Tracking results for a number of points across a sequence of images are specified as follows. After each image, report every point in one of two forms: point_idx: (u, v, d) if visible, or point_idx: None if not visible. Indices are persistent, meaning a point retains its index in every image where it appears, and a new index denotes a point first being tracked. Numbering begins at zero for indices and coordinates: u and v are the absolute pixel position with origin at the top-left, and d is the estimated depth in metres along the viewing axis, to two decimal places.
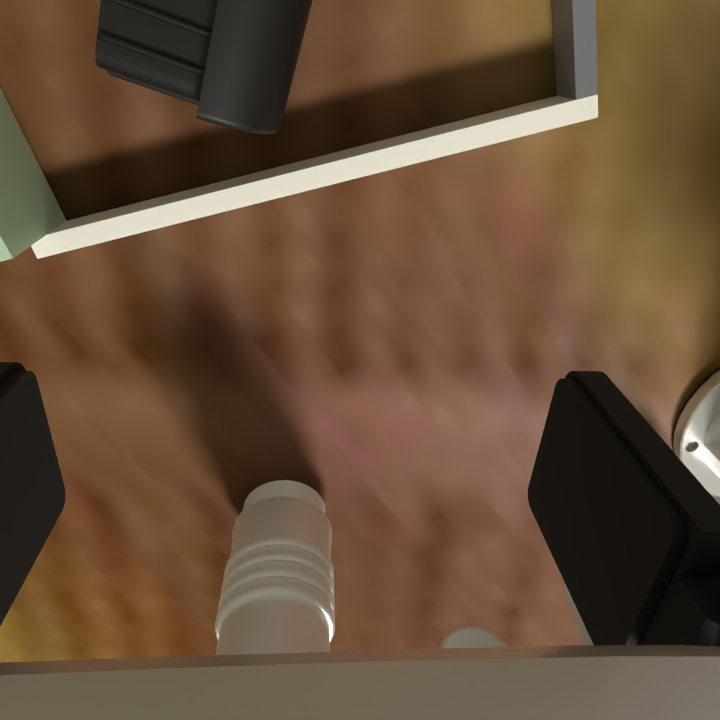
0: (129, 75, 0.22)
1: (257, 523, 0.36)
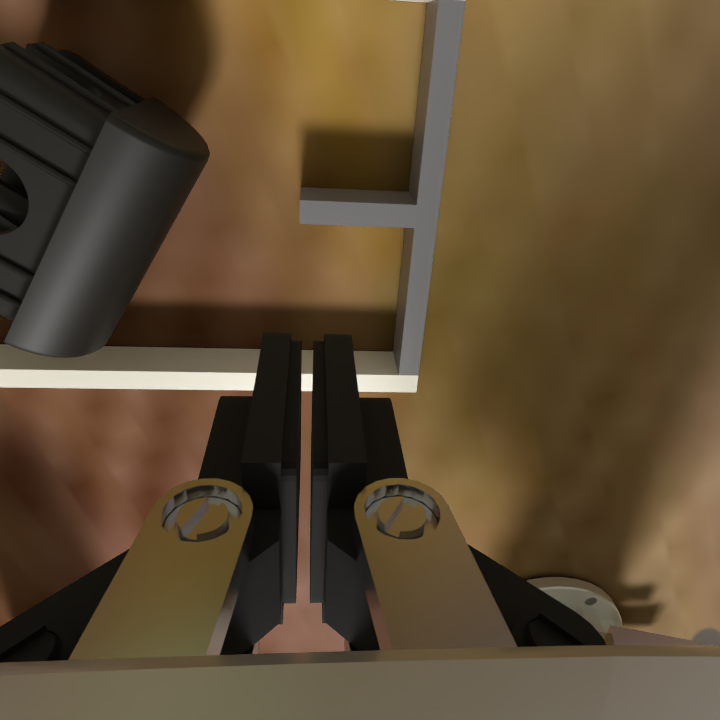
0: None
1: None
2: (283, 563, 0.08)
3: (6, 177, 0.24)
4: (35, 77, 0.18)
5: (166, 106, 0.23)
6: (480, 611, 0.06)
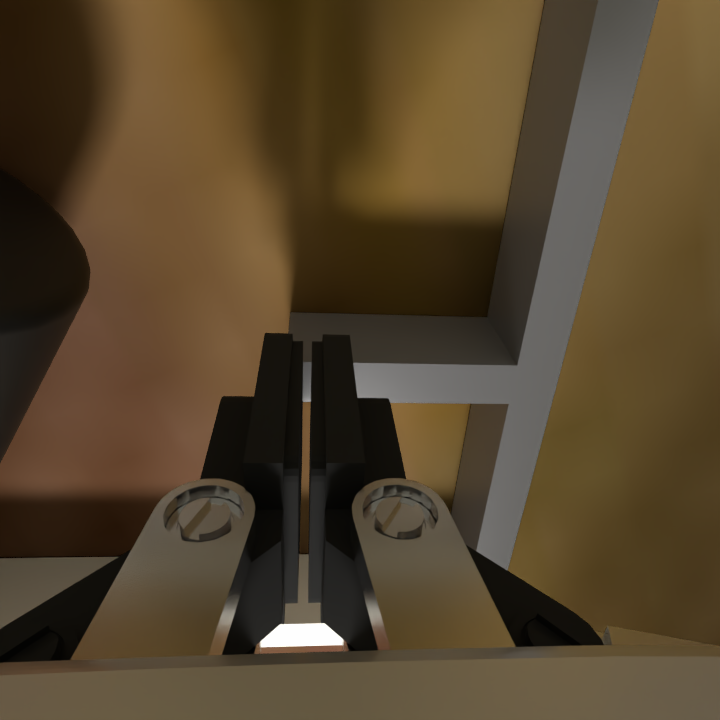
0: None
1: None
2: (285, 563, 0.08)
3: None
4: None
5: (9, 177, 0.11)
6: (478, 611, 0.06)
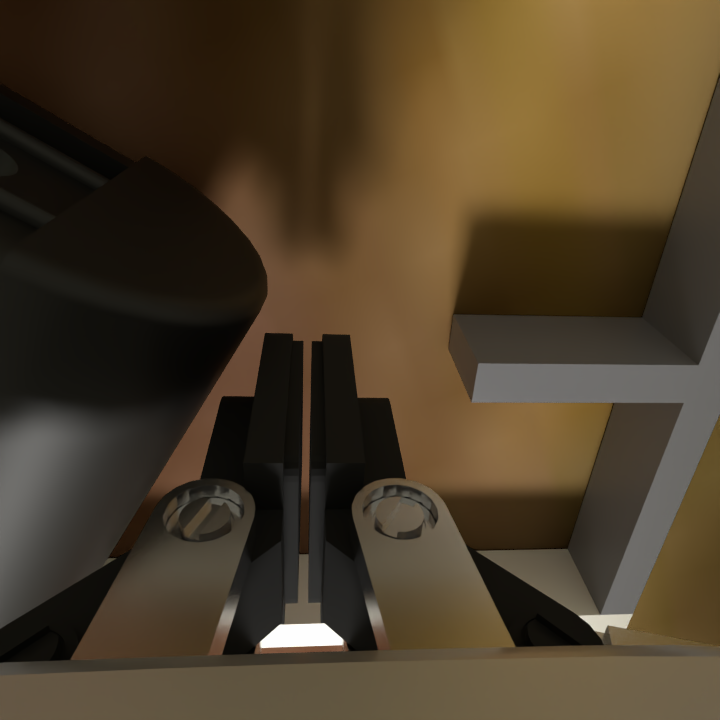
0: None
1: None
2: (285, 563, 0.08)
3: None
4: None
5: (171, 173, 0.11)
6: (478, 611, 0.06)
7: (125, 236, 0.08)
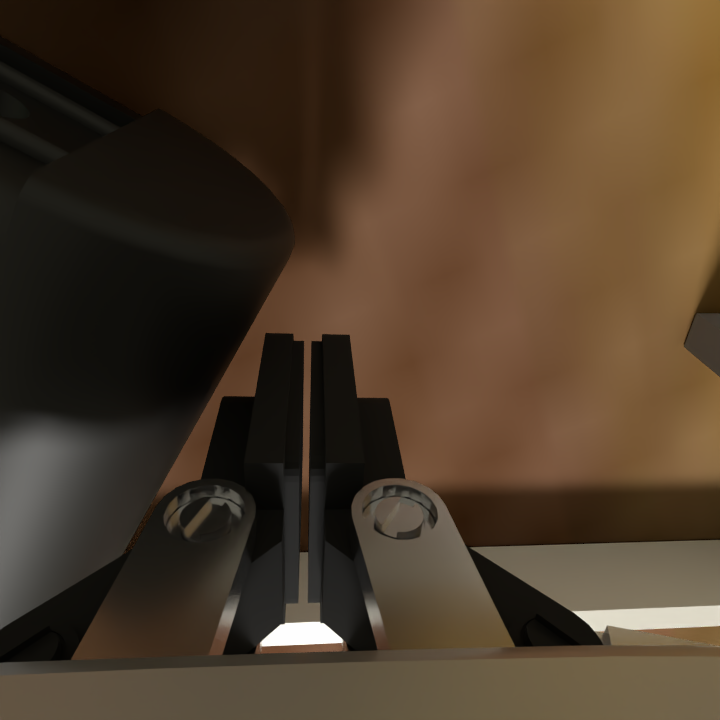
0: None
1: None
2: (285, 563, 0.08)
3: None
4: None
5: (186, 126, 0.11)
6: (478, 611, 0.06)
7: (147, 175, 0.07)
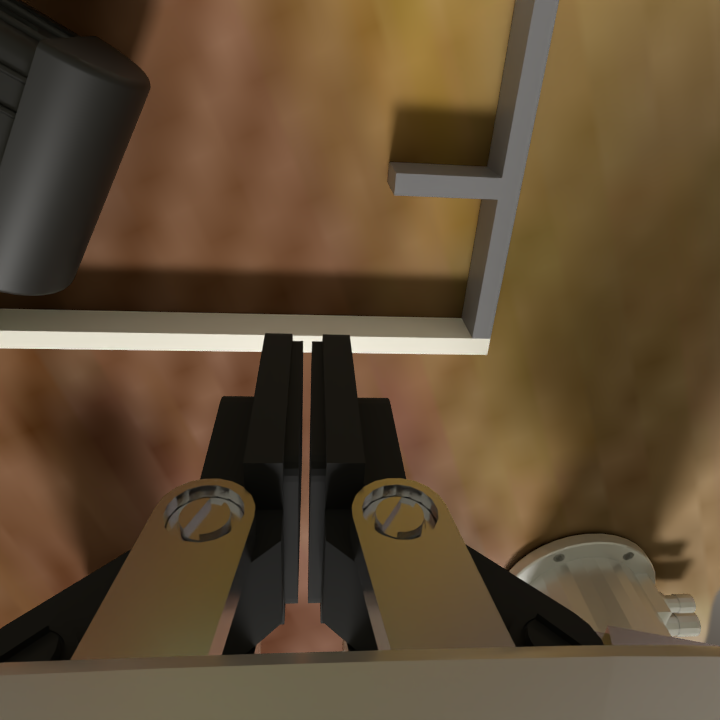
0: None
1: None
2: (285, 563, 0.08)
3: None
4: None
5: (107, 44, 0.24)
6: (478, 611, 0.06)
7: (82, 50, 0.21)
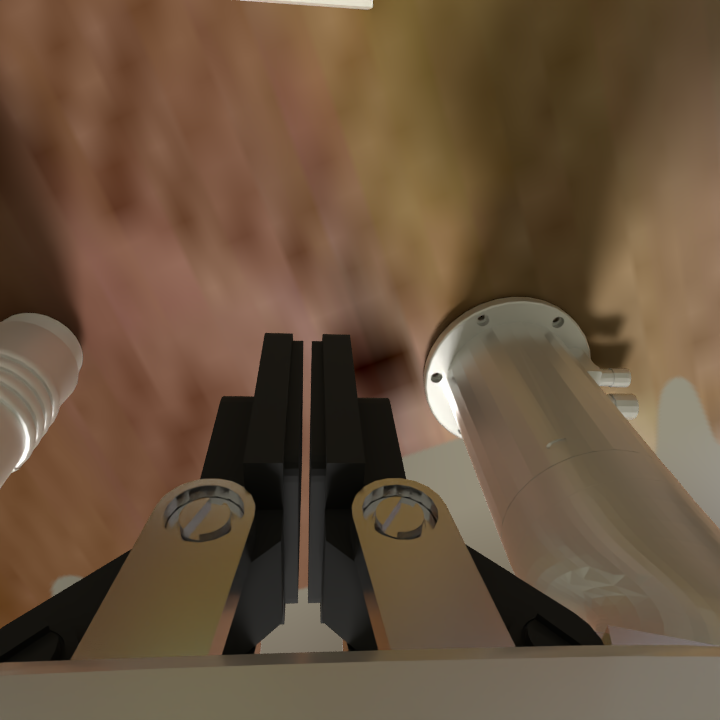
0: None
1: None
2: (285, 563, 0.08)
3: None
4: None
5: None
6: (478, 611, 0.06)
7: None
